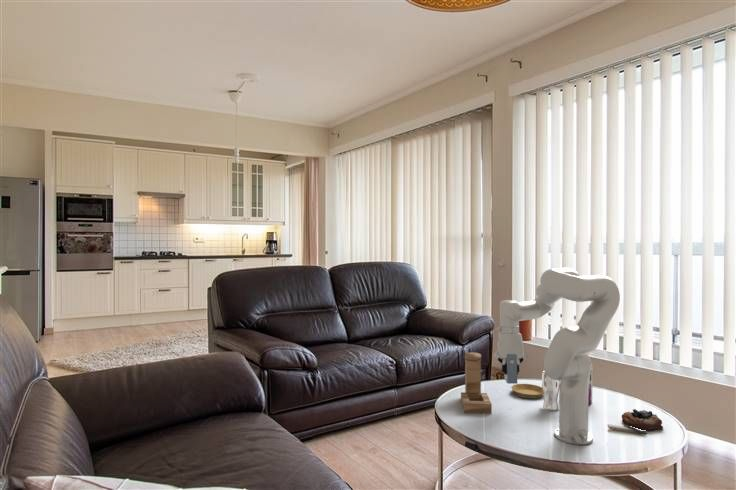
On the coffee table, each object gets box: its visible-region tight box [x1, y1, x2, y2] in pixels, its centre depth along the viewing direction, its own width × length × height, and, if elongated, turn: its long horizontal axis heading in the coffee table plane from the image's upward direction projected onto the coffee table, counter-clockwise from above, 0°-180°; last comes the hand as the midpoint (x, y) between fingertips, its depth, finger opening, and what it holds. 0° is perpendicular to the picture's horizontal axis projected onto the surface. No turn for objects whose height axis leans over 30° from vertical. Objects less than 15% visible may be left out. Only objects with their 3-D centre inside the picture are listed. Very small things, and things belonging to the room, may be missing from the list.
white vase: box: [541, 370, 561, 412], centre depth 194 cm, size 7×7×15 cm
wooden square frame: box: [460, 351, 493, 415], centre depth 199 cm, size 20×11×20 cm, turn 174°
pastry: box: [621, 408, 664, 432], centre depth 176 cm, size 11×12×6 cm
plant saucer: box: [510, 383, 544, 399], centre depth 211 cm, size 15×15×3 cm
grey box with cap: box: [503, 354, 518, 385], centre depth 193 cm, size 7×4×12 cm, turn 174°
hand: (510, 373), depth 194 cm, fingers closed on grey box with cap, 4 cm apart
